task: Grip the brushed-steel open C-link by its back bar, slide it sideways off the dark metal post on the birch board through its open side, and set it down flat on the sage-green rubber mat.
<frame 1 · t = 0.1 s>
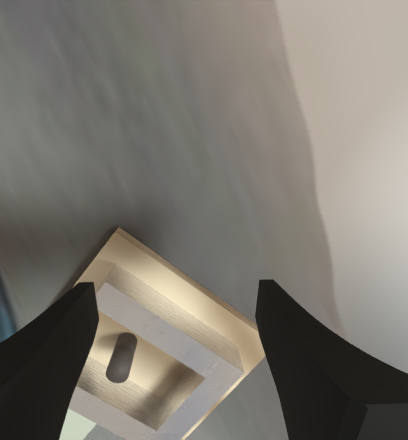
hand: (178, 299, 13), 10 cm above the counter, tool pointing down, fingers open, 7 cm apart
c link: (190, 380, 25), point 1 cm above the counter, touching hook board
hook board: (149, 343, 26), on the counter
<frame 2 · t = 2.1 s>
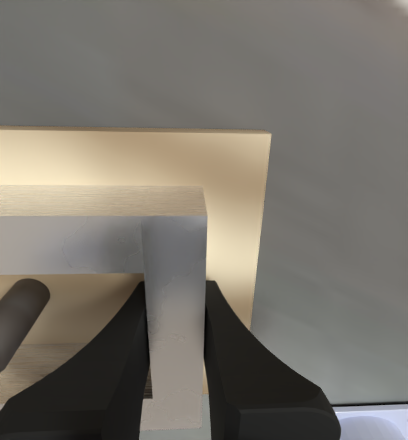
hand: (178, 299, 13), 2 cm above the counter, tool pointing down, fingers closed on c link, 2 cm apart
c link: (178, 291, 14), point 1 cm above the counter, touching gripper, hook board
hook board: (85, 277, 14), on the counter
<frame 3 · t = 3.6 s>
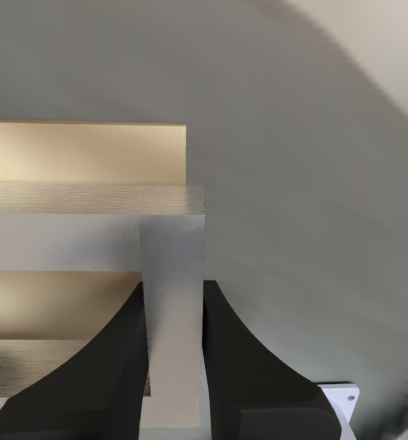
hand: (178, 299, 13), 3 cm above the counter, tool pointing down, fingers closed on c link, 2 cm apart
c link: (179, 290, 14), point 3 cm above the counter, touching gripper
hook board: (33, 259, 16), on the counter
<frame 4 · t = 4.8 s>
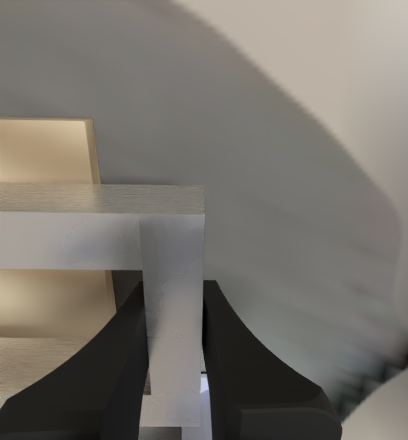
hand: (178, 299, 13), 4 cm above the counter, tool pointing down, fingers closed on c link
c link: (179, 289, 14), point 4 cm above the counter, touching gripper
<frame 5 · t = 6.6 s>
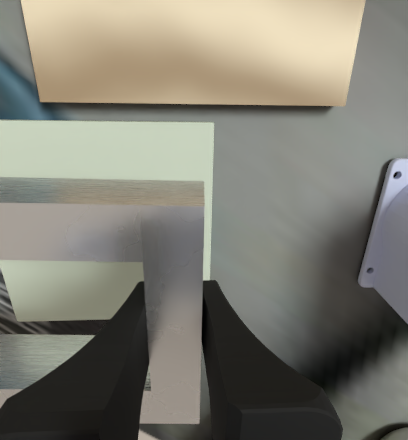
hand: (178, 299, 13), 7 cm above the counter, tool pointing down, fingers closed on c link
c link: (180, 286, 14), point 7 cm above the counter, touching gripper
plastic bottle: (396, 435, 31), on the counter
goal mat: (104, 232, 20), on the counter
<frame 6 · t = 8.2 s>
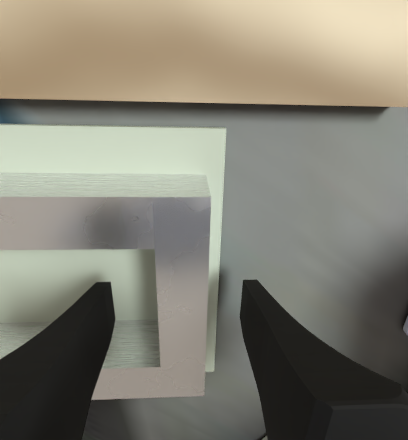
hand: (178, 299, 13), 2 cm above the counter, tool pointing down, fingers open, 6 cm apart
c link: (183, 271, 15), resting on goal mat
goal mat: (79, 270, 15), on the counter
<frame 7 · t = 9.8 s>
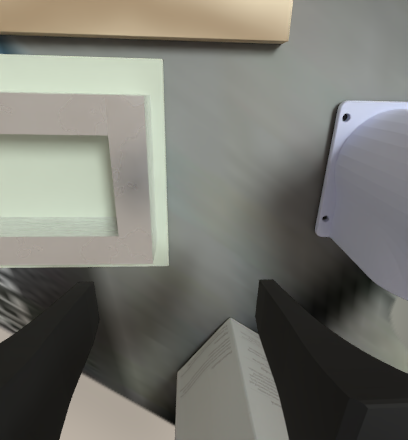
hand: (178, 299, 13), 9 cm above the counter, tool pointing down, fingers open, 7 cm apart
c link: (138, 175, 20), resting on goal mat
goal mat: (61, 174, 20), on the counter
skincare box: (225, 353, 28), on the counter
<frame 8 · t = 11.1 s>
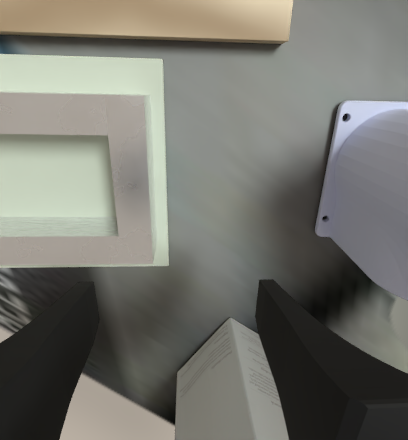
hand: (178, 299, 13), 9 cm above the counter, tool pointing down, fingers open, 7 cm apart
c link: (138, 175, 20), resting on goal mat
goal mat: (61, 174, 20), on the counter
skincare box: (225, 353, 28), on the counter
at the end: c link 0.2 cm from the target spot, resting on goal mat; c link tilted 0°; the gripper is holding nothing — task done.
